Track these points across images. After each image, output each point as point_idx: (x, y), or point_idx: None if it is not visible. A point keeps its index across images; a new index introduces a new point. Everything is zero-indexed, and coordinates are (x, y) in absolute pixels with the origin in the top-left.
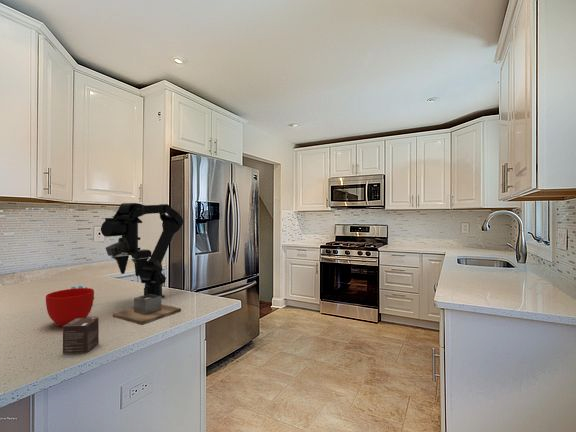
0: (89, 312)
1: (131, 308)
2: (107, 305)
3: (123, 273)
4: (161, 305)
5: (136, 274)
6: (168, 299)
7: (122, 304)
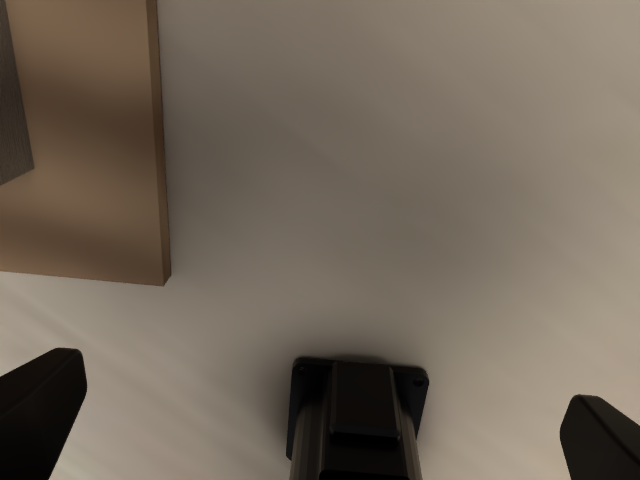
0: None
1: (144, 62)
2: (559, 91)
3: (566, 423)
4: (5, 247)
5: (25, 364)
6: (197, 413)
7: (437, 178)
